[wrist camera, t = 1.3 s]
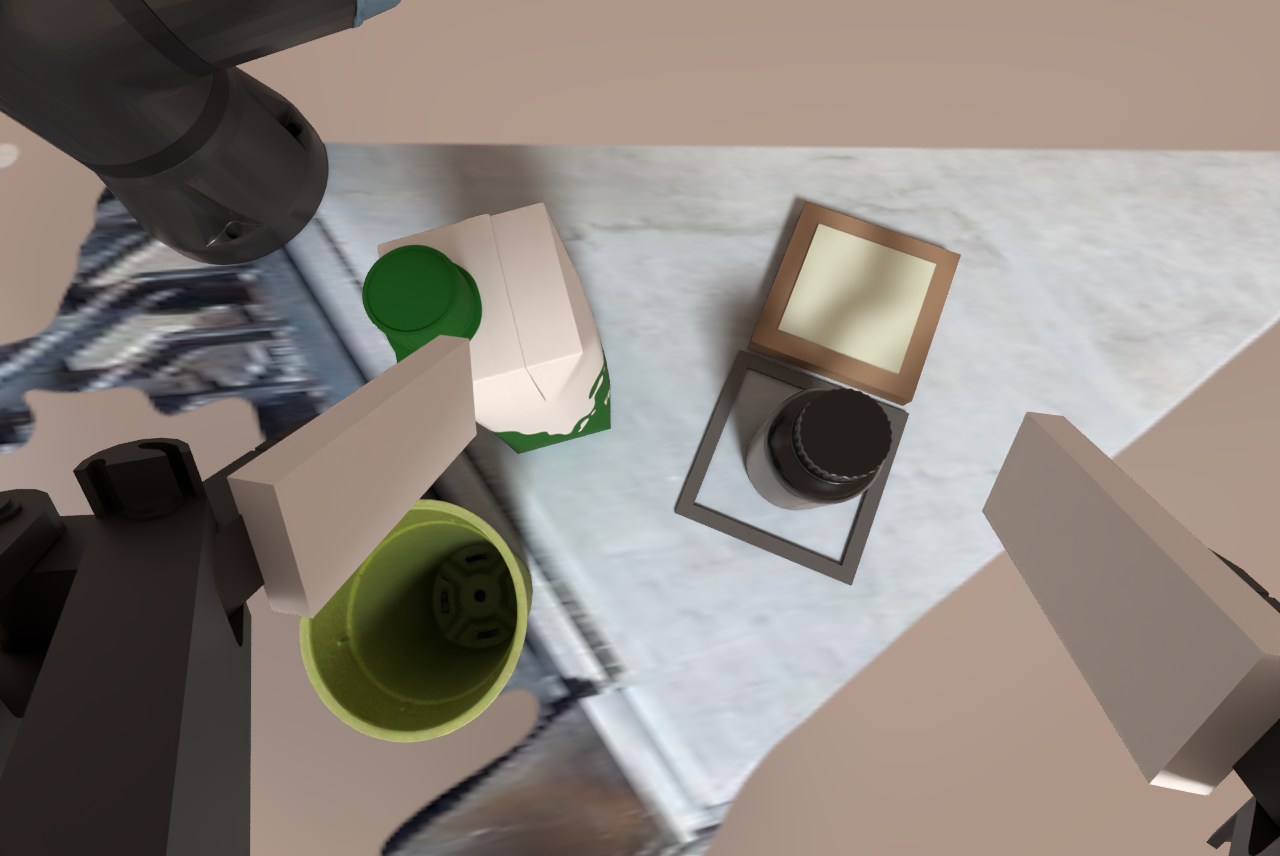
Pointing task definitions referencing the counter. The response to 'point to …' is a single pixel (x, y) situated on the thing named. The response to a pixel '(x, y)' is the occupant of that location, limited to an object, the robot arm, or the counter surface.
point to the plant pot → (420, 628)
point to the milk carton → (500, 321)
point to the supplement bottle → (819, 448)
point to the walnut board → (856, 303)
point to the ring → (757, 538)
